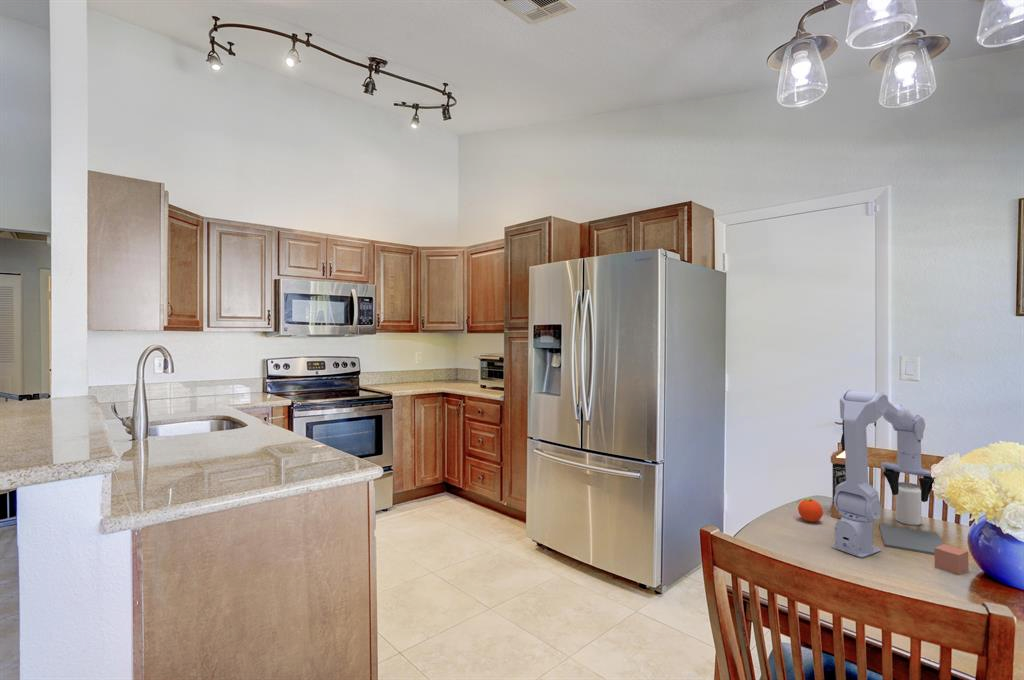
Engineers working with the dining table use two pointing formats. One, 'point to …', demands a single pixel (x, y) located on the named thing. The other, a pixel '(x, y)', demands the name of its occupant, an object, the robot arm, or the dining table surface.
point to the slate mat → (910, 539)
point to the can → (908, 504)
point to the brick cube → (951, 559)
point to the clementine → (810, 510)
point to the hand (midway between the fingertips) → (909, 497)
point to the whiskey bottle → (838, 471)
